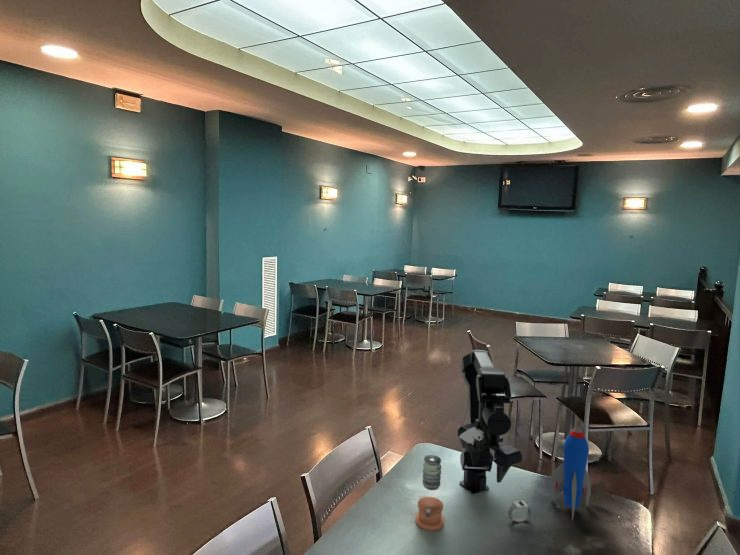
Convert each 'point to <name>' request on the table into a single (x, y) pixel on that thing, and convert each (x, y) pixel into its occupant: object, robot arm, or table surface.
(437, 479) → the grey ribbed cylinder
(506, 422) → the robot arm
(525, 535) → the table surface
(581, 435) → the toy rocket
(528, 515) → the wristwatch
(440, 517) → the housing
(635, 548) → the table surface
